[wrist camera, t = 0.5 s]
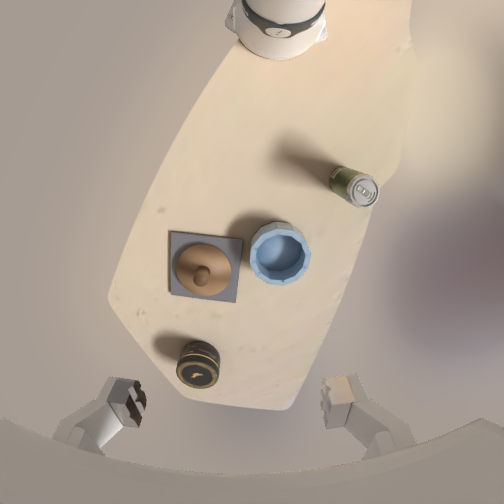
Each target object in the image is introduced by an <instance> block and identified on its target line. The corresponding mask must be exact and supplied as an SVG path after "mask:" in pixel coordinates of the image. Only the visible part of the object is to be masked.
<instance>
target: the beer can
mask: <svg viewBox="0 0 504 504" xmlns="http://www.w3.org/2000/svg"><path fill="white" fill-rule="evenodd" d="M329 183H330V187H331V189H332V190H333V191H334V192H335V193H336V194H338V195H339V196H340V197H342V198H343V199H345V200H346V201H348V202H349V203H351V204H352V205H354V206H356V207H358V208H369V207H371V206H373V205H374V204H375V203H376V202H377V200H378V198H379V193H380V191H379V186H378V184H377V182H376V181H375V180H374V179H373V178H372V177H371V176H369V175H367V174H364V173H361V172H358V171H355V170H352V169H349V168H345V167H340V168H337V169H336V170H334V171H333V172H332V174H331V176H330V180H329Z"/></svg>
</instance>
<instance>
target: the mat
mask: <svg viewBox="0 0 504 504" xmlns="http://www.w3.org/2000/svg"><path fill="white" fill-rule="evenodd" d="M195 244H210V245H213V246H215V247H217V248H219V249H220V250H222V251H223V252H224V253H225V254H226V255H227V257H228V259H229V261H230V263H231V268H232V273H231V279H230V282H229V284H228V285H227V287H226V288H225V289H224V290H223V291H221V292H220V293H218V294H215V295H211V296H201V295H197V294H194V293H192V292H190V291H188V290H187V289H186V288H185V287H184V286H183V285H182V284H181V282H180V281H179V279H178V276H177V272H176V266H177V262H178V259H179V257H180V256H181V254H182V253H183V251H185V250H186V249H187V248H188V247H190V246H192V245H195ZM242 244H243V239H237V238H229V237H220V236H211V235H202V234H193V233H184V232H175V231H172V232H171V295H177V296H184V297H192V298H199V299H207V300H215V301H224V302H232V303H236V295H237V286H238V278H239V269H240V261H241V252H242Z"/></svg>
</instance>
